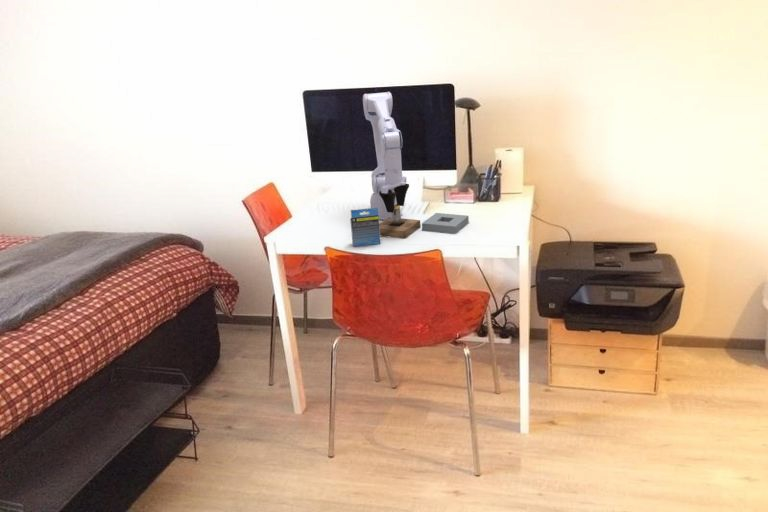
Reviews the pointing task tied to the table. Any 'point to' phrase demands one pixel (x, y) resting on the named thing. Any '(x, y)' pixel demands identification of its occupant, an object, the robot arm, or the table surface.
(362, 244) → the label tape box
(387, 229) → the socket block
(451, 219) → the block
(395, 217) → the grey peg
